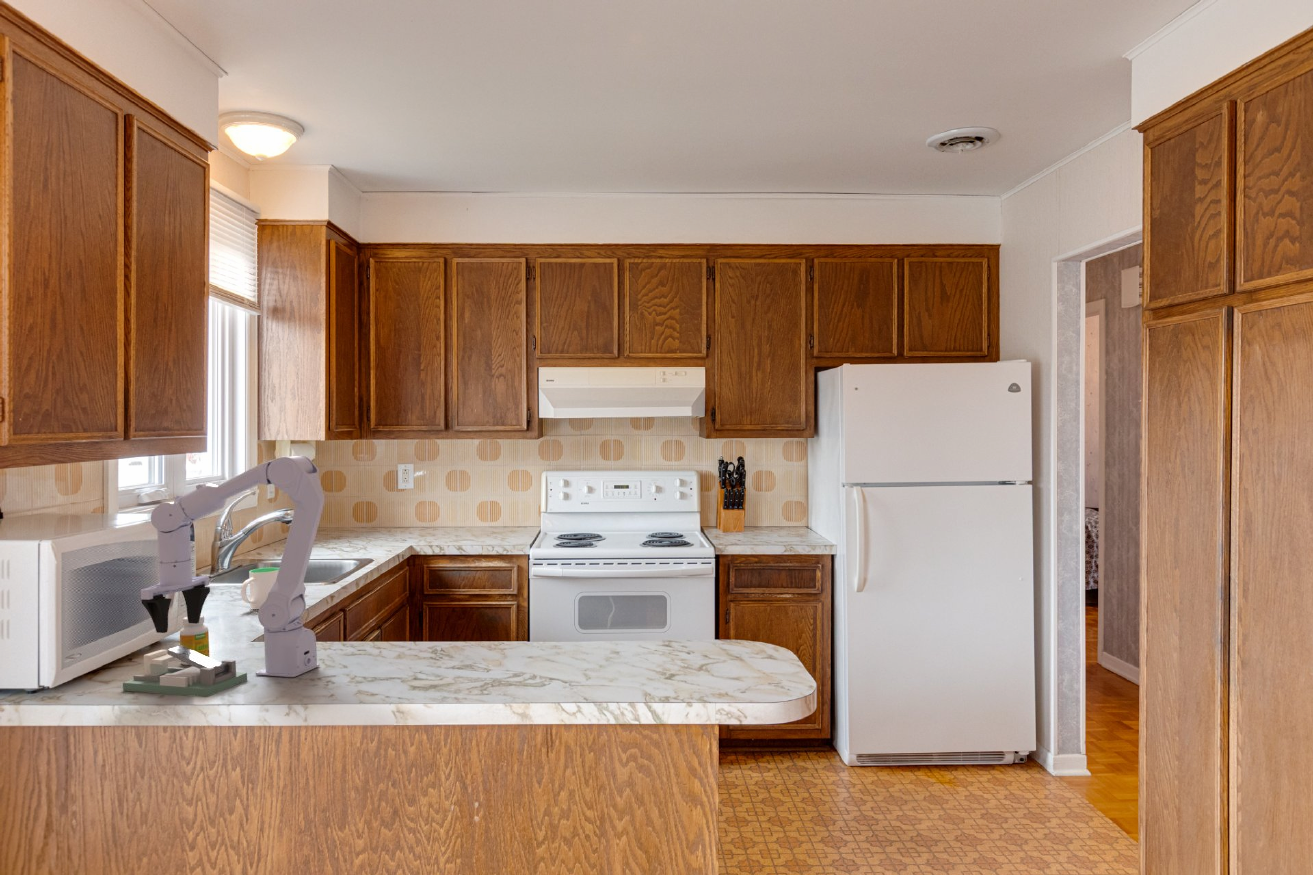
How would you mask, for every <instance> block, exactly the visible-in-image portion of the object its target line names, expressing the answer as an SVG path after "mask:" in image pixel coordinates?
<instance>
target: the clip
mask: <svg viewBox="0 0 1313 875" xmlns="http://www.w3.org/2000/svg"><path fill="white" fill-rule="evenodd" d="M177 660H178V659H177V658H175V657H173V656H170V655H168V649H159V650H156V651H152V652H149V653H146V654H144V655H143V670H144V671H143V672H144V674H143V675H146V676H159V675H162V674H165V673H168V667H169V666H168V664H169V663H171V662H174V661H177Z"/></svg>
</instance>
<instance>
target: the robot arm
mask: <svg viewBox="0 0 1313 875" xmlns="http://www.w3.org/2000/svg"><path fill="white" fill-rule="evenodd" d="M319 476H320V470H319V468H318V467H317V465H316V464H315V463H314V462H313V461H312V459H310V458H309V457H307V456H306V455H301V454H297V455H293V456H279V457H277V458H274V459H273V460H267V461H266V462H262V463H259V464H258V465H255V466H254V467H252V468H249V469H247V470H246V471H244V472H242V473H240V474H238V475H236V476H234V477H233V478H230V479H229V480H227V481H225V482H223V483H221V484H219V485H217V484H213V483H210V482H209V483H207V484H205V483H204V482H203V483H199V484H197V485H195V488H196V489H194V490H192V491H190V492H188V493H186V494H184V495H181V494H178V495H176V496H175V497H174V499H173V500H174V501H172V502H170V501H168V502H167V501H165V502H161V503H159V505H157V506H155V507H154V509H153V510H152V511H151V514H150V523H151V524H152V526H153V527H154V528H155V529H156V531H157V533H156V535H157V551H158V552H157V554H158V574H159V575H158V576H159V577H158V578H159V582H158V583H157V584H155V585H152V586H149V587H146V588H143V589H142V588H141V589H140V599H141V604H142V606H143V607H144V608H145V609H146V611H147V612H148V613H149V616H150V618H151V620H152V622H153V625H154V629H155V631H156V633H159V634H166V633H168V631H169V610H170V608H171V607H170V606H171V603H172V598H167V597H166V596H167V595H171V594H174V593H179V592H181V593H182V595H183V598H184V599H183V600H184V603H185V607H186V615H187V616H186V617H187V618H188V622H189V623H195V624H197V623H199V620H200V615H202V611H203V608H204V604H205V602H206V601H207V600H206V599H207V597H208V596H209V594H210V592H211V587H209V586H210V576H209V575H199V576H195V577H194V576H193V572H192V571H193V568H192V564H193V563H192V547H191V546H192V545H191V526H192V525H193V523H194V522H197V521H199V520H201V519H203V518H205V517H207V516H210V515H212V514H213V513H216V512H218V511H220V510H221V509H224V507H225V505H226V502H227V500H228V499H231V498H232V497H235V496H237V495H239V494H242V493H243V492H247V491H248V490H250V489H253V488H255V487H257V486H260V485H266V486H267V485H268V486H269V485H273V486H274V487H276V488H277V489H279V490H280V491H281V492H283V493H284V494H286V495H287V497H288V498H289V499H290V500H291V501H292V503H293V504H294V505H295V507H294V512H293V515H292V519H291V523H290V527H289V531H288V534H287V538H286V541H285V542H286V543H285V544H284V545H285V546H284V549H283V551H282V552H283V553H282V557H281V561H280V564H279V567H278V568H279V571H278V575H277V579H276V581H275V583H274V585H273V586H272V588H271V589H270V591H269V593H268V597H267V599H266V601H265V602H264V603H263V604H262V605H261V607H260V609H259V610H258V611H257V612H258V613H257V618H258V621H259V624H260V625H261V626H262V627H263V640H264V642H263V643H264V661H265V662H264V664H265V665H264V666H265V668H262V669H260V670H258V671H255V673H254V674H255V675H259V676H269V677H270V676H271V677H273V676H274V677H284V678H295V677H297V676H300V675H302V674H305V673H307V672H310V671H311V670H314V669H316V668H318V667H320V666H321V665H320V663H318V658H317V657H318V654H317V638H316V634H315V632H314V630H312V629H311V628H306V627H304V625H303V621H302V618H301V617H302V616H303V615H304V613H305V611H306V609H307V608H306V607H307V602H306V599H305V594H306V591H307V589H306V586H305V584H304V582H305V577H306V574H307V569H308V566H309V562H310V558H311V555H312V551H313V548H314V543H315V540H316V536H317V532H318V529H319V525H320V521H321V517H322V513H323V510H324V506H325V501H326V498H325V493H324V491H323V487H322V483H321V480H320V477H319Z"/></svg>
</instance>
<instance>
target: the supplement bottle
mask: <svg viewBox="0 0 1313 875" xmlns="http://www.w3.org/2000/svg"><path fill="white" fill-rule="evenodd" d="M204 623H205V616H204V615H202V614H201V615H200V620H199V623H197V624H195V623H189V622H188V618H187V616H184V617H183V618H182V624H183V626H184V627H182V628H181V629H180V631H179V646H181V645H182V646H184V647H186V648H189V649H191V650H193V651H195V652H197V653H199V654H202V655H204V656H206V657H208V658H210V638H209V637H210V636H209V627H208V626H207V625H205V624H204ZM180 664H182V665H184V666H191V665H190V664H188V663H185V662H183V661H181V660H180Z"/></svg>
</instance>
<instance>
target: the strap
mask: <svg viewBox="0 0 1313 875" xmlns="http://www.w3.org/2000/svg"><path fill="white" fill-rule="evenodd" d="M167 654H168V655H170V656H173V657H175V658H177V660H179V661H180V662H181V661H183V662H185V663H188V664H190V665H189V666H191V667H196V668H198V669H201V668H214V670H215V676H216V675H219V674H222V673H224V672H227V671H228V670H229V665H228V663H226V662H225V663H222V662H219V661H217V660H215V659H213V658H210V657H209V658H208V657H206V656H204V655H202V654H199V653H197V652H195V651H193V650H191V649H189V648H186V647H184V646H182V645H181V646H180V645H179V646H178V645H177V646H175V647H172V648H169V649H167ZM221 663H222V664H221Z"/></svg>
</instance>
